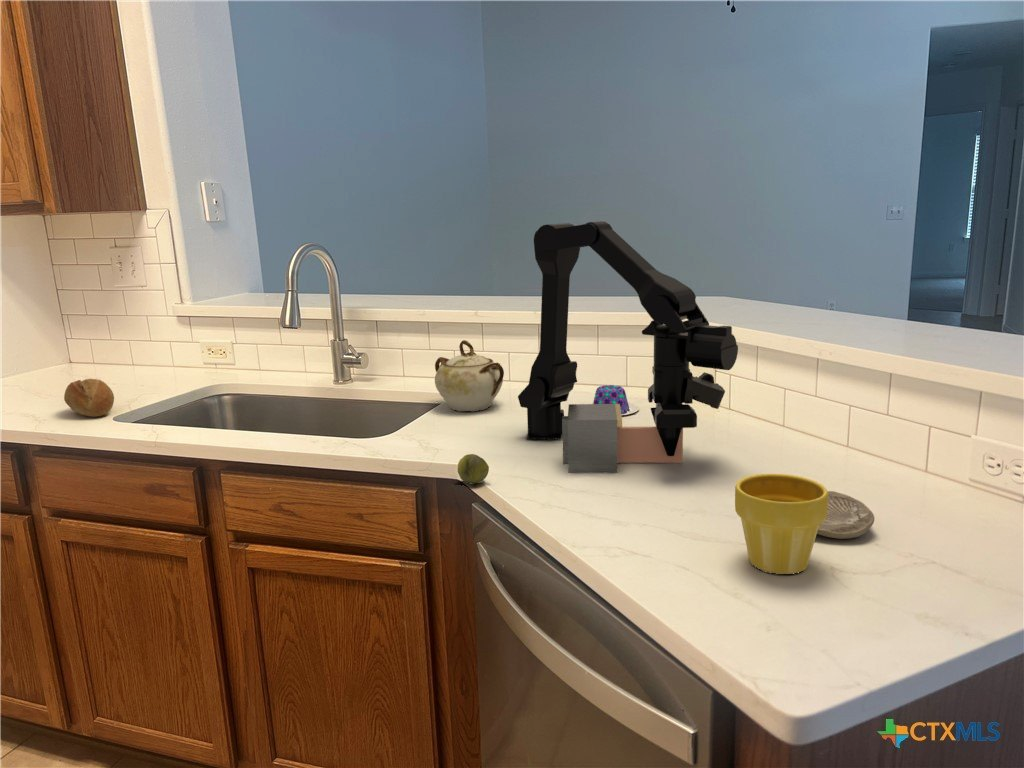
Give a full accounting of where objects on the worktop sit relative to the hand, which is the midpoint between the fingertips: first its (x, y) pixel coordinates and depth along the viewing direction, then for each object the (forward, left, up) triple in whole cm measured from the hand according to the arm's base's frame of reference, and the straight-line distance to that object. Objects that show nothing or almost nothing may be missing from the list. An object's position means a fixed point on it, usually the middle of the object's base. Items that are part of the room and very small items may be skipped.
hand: (670, 454), depth 130 cm
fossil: (+18, -26, -2) cm, 32 cm away
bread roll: (-127, +35, -2) cm, 132 cm away
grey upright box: (-13, 0, -2) cm, 13 cm away
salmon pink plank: (-7, 0, -1) cm, 7 cm away
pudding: (-9, +34, -2) cm, 35 cm away
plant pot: (+9, -37, -2) cm, 38 cm away
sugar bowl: (-40, +37, -2) cm, 55 cm away
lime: (-32, -10, -2) cm, 34 cm away
